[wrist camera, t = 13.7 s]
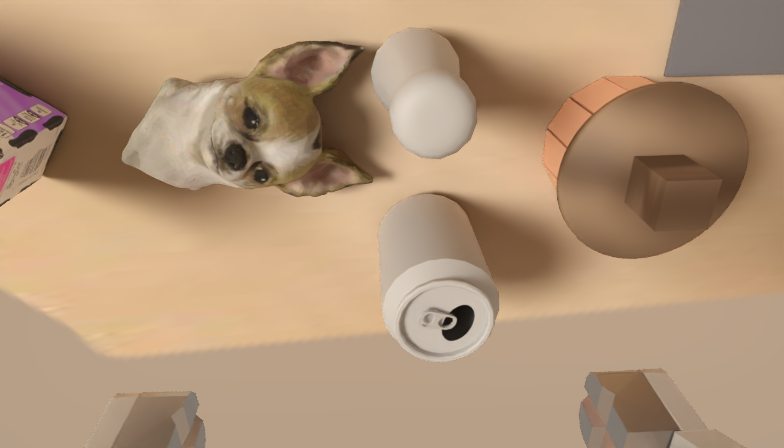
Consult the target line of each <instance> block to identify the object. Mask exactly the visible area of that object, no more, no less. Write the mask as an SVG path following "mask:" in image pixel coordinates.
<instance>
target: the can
mask: <svg viewBox="0 0 784 448" xmlns="http://www.w3.org/2000/svg"><path fill="white" fill-rule="evenodd" d="M378 250H379V266H380V282H381V298H382V311H383V318H384V323H385V325H386V327H387V329H388V330H389V332H390V334H391V336H392V337H394V338H395V339H396V340H397V341H398V342H399V343H400V345H401V346H402V347H403V348H404V349H405V350H406V351H408V352H409V353H410V354H411V355H413V356H416V357H418V358H421V359H423V360H427V361H435V362H445V361H453V360H457V359H459V358H462V357H465V356H468V355H470V354H471V353H472V352H474V351H476V350H477V349H478V348H480V347H481V346H482V345H483V343H485V341H486V340H487V339H488V338H489V336H490V334H491V332H492V329H493V326H494V324H495V319H496V316H497V314H498V311H499V293H498V291H497V288H496V286H495V283H494V281H493V278H492V276H491V273H490V271H489V268H488V266H487V263H486V261H485V258H484V256H483V253H482V251H481V248H480V246H479V243H478V241H477V238H476V236H475V233H474V231H473V228H472V226H471V223H470V221H469V219H468V216H467V214H466V212H465V211H464V210H463V209H462V208H461V207H460V206H459V205H458V204H457V203H456V202H454V201H452V200H450V199H448V198H446V197H444V196H440V195H434V194H421V195H413V196H411V197H409V198H406V199H404V200H402V201H399V202H398V203H397V204H396V205H395V206H393V207H392V208H391V209H390V210H389V211H388V212H387V213H386V215H385V217H384V218H383V220H382V221H381V223H380V227H379V232H378Z"/></svg>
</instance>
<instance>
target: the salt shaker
mask: <svg viewBox="0 0 784 448" xmlns="http://www.w3.org/2000/svg"><path fill="white" fill-rule="evenodd" d="M371 76H372V82H373V88H374V92H375V93H376V95H377V96H378V98H379V99H380V101H381V102H382V104H383V105H384V107H385V108H386V109H387V110H388V111H389V112H390V118H391V125H392V131H393V133H394V134H395V136H396V137H397V138H398V140H399V141H400V143H401V144H402V146H403V147H404V148H405V149H406V150H408V151H410V152H411V153H413V154H415V155H417V156H419V157H421V158H432V159H441V158H444V157H446V156H449V155H451V154H454V153H456V152H458V151H459V150H460V149H461V148H462V147H463V146H464V145H465V144H466V143H467V142H468V141H469V140H470V139H471V137H472V134H473V131H474V129H475V126H476V124H477V110H476V99H475V97H474V95H473V94H472V92H471V90H470V89H469V87H468V86H467V84H466V82H464V81H463V80H462V79H460V67H459V57H458V55H457V54H456V52H455V50H454V49H453V47H452V46H451V44H450V42H449V41H448V40H447V39H446V38H444V37H443V36H441V35H440V34H438V33H436V32H435V31H433V30H432V29H423V28H407V29H405V30H402V31H400V32H397V33H395V34H393V35H391V36H390V37H389V38H388V39H387V40H386V41H385V42H384V44H383V45H382V46H381V47H380V48H379V49H378V50H377V52H376V56H375V59H374V62H373V66H372V69H371Z"/></svg>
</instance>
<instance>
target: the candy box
mask: <svg viewBox="0 0 784 448" xmlns="http://www.w3.org/2000/svg"><path fill="white" fill-rule="evenodd" d="M66 121H67V116H66V114H64V113H62V112H60V111H59V110H57V109H55V108H54V107H52V106H50V105H49V104H47V103H45V102H43V101H41V100H40V99H38V98H36V97H34V96H32V95H30V94H28V93H26V92H24V91H23V90H21V89H19V88H17V87H16V86H14V85H13V84H11V83H9V82H7V81H6V80H4V79H2V78H0V206H2V205H3V204H5V203H6V202H7V201H9V200H10V199H12V198H13V197H14V196H16V195H17V194H19V193H20V192H22V191H23V190H25V189H26V188H28V187H29V186H31V185H32V184H33V183H35V182H36V181H37V180H39V179H40V178H41V176H42V174H43V172H44V170H45V167H46V165H47V163H48V161H49V158H50V156H51V154H52V152H53V149H54V147H55V145H56V143H57V141H58V139H59V138H60V136H61V133H62V131H63V129H64V126H65V123H66Z"/></svg>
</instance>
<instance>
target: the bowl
mask: <svg viewBox="0 0 784 448" xmlns="http://www.w3.org/2000/svg"><path fill="white" fill-rule="evenodd" d="M653 83H655V82H652V81H650V80H648V79H646V78H644V77H641V76H619V77H605V78H601V79H599V80H598V81H596V82H594V83H592V84H590V85H589V86H587V87H585V88H583V89H582V90H580V91H578V92H576V93H574V94H573V95H571V99H570V98H568V99H567V100H566V102H565V103H564V104H563V106H562V107H561V109H560V110H559V112H558V113H557V114H556V116H555V117H554V119H553V120H552V121H551V123H550V124H549V126H548V128H549V129H547V130H546V138H545V145H544V153H543V162H544V163H543V165H544V167H545V169H546V171H547V173H548V175H549V177H550V179H551V181H552V183H553V185H554V187H555V189H556V190H557V176H558V172H559V167H560V164H561V161H562V158H563V155H564V153H565V151H566V149H567V147H568V145H569V143H570V141H571V140H572V138H573V137H574V135H575V134H576V132H577V131H578V130H579V129H580V127H581V126H582V125H583V124H584V122H585V121H586V120H587V119H588V118H589V117H590V116H591V115H593V114H594V113H595V112H596V111H597V110H598V109H600V108H601V107H602V106H603V105H605V104H606V103H608V102H609V101H611V100H612V99H614V98H616V97H617V96H619V95H621V94H623V93H625V92H627V91H629V90H632V89H635V88H638V87H641V86H644V85H648V84H653Z"/></svg>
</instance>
